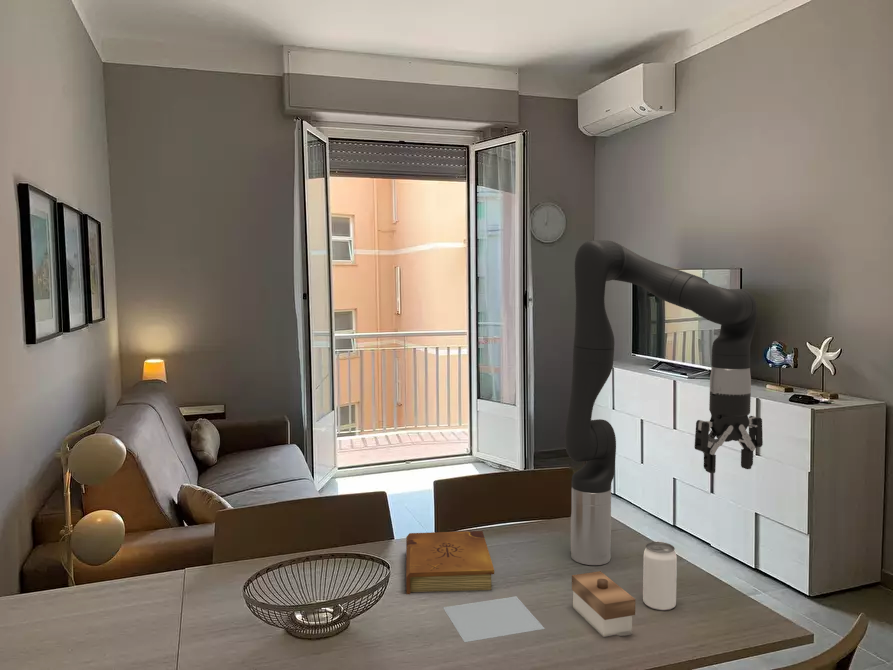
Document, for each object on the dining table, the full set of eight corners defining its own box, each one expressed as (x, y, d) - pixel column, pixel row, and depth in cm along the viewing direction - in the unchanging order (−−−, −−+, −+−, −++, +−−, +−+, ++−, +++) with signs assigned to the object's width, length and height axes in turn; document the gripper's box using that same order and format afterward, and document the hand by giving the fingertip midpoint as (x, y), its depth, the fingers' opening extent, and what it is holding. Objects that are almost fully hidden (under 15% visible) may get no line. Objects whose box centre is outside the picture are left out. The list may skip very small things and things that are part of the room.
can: (677, 612, 135) (678, 554, 134) (644, 609, 136) (645, 551, 136) (673, 597, 142) (674, 541, 141) (641, 595, 143) (642, 539, 142)
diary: (406, 556, 166) (406, 533, 166) (482, 553, 167) (482, 530, 167) (406, 598, 143) (406, 572, 143) (494, 595, 144) (494, 569, 144)
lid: (571, 589, 137) (571, 569, 136) (600, 585, 139) (600, 565, 138) (604, 620, 124) (604, 597, 124) (635, 614, 126) (635, 593, 126)
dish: (573, 609, 137) (573, 590, 136) (599, 605, 138) (599, 586, 138) (603, 639, 125) (603, 618, 125) (631, 634, 127) (632, 613, 127)
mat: (442, 609, 137) (442, 607, 137) (516, 598, 142) (516, 596, 142) (464, 644, 124) (464, 642, 124) (544, 631, 128) (544, 628, 128)
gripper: (746, 385, 140) (744, 462, 141) (687, 389, 136) (685, 468, 137) (773, 390, 133) (771, 472, 134) (712, 394, 129) (710, 478, 130)
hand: (728, 470), depth 136 cm, fingers open, 8 cm apart
